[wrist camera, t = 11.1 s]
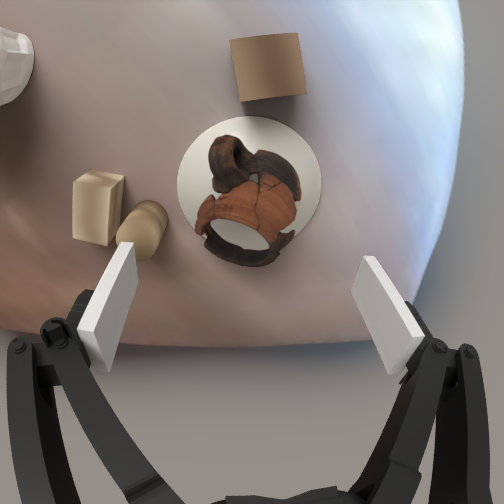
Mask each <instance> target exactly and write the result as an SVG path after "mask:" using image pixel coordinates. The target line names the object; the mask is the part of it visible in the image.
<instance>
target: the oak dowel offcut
mask: <svg viewBox="0 0 504 504" xmlns="http://www.w3.org/2000/svg"><path fill="white" fill-rule="evenodd" d="M167 224H168V215H167V212H166V210H165V209H164V208H163V206H162V205H160V204H159V203H157V202H155V201H151V200H145V201H141V202H139V203H138V204H137V205H136V206H135V207H134V208H133V210H132V211H131V212H130V214H129V215H128V217H127V218H126V219H125V221H124V222H123V224H122V225H121V226H120V228H119V229H118V231H117V234H116V243H117V246H119V244H120V243H121V242H132V243H134V250H135V259H136V260H137V261H142V260H146V259H149V258H150V257H152V256H153V255H154V253H155V251H156V249H157V247H158V245H159V242H160V240H161V238H162V235H163V233H164V231H165V229H166V226H167Z"/></svg>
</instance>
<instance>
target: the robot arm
mask: <svg viewBox="0 0 504 504" xmlns="http://www.w3.org/2000/svg"><path fill="white" fill-rule="evenodd" d="M138 283H139V282H138V275H137V267H136V259H135V250H134V243H132V242H121V243H120V244H119V246H118V248H117V250H116V251H115V253H114V255H113V257H112V259H111V261H110V262H109V264H108V266H107V268H106V270H105V272H104V274H103V276H102V278H101V280H100V281H99V283H98V285H97V287H96V289H95V290H86V289H85V290H84V291H83V292H82V293H81V294H80V295H79V296H78V297H77V299H76V301H75V303H74V305H73V307H72V309H71V311H70V313H69V315H68V317H67V319H66V320H65V319H62V318H57V317H55V318H51V319H49V320H47V321H45V323H44V324H43V325H42V326H41V329H40V335H41V337H42V339H43V341H44V343H35V344H32V342H31V340H30V339H29V338H28V337H25V336H20V337H17V338H15V339H13V340H12V341H11V342H10V344H9V346H8V350H7V411H8V425H9V435H10V443H11V451H12V458H13V464H14V469H15V475H16V480H17V484H18V489H19V493H20V497H21V501H22V504H81V502H80V499H79V496H78V493H77V490H76V487H75V484H74V481H73V477H72V474H71V470H70V467H69V463H68V460H67V456H66V452H65V447H64V443H63V439H62V434H61V429H60V424H59V420H58V414H57V408H56V402H55V394H54V387H53V386H57V385H58V386H59V385H62V387H63V389H64V391H65V393H66V395H67V398H68V400H69V402H70V404H71V406H72V408H73V410H74V412H75V414H76V416H77V418H78V420H79V422H80V424H81V426H82V428H83V430H84V432H85V433H86V435H87V437H88V439H89V441H90V442H91V444H92V446H93V447H94V449H95V451H96V453H97V454H98V456H99V457H100V459H101V461H102V462H103V464H104V465H105V467H106V469H107V470H108V472H109V473H110V475H111V476H112V478H113V479H114V480H115V482H116V483H117V485H118V486H119V488H120V489H121V490H122V492H123V493H124V495H125V498H126V500H127V501H128V503H129V504H185V503H184V502H183V501H182V500H181V499H180V498H179V496H178V495H177V494H176V493H175V492H174V491H173V490H172V489H171V487H170V486H169V485H168V484H167V483H166V482H165V481H164V479H163V478H162V477H161V476H160V475H159V474H158V473H157V472H156V470H155V469H154V468H153V467H152V465H151V464H150V463H149V461H148V460H147V459H146V458H145V456H144V455H143V454H142V452H141V451H140V450H139V448H138V447H137V445H136V444H135V443H134V441H133V440H132V438H131V437H130V436H129V434H128V433H127V431H126V430H125V428H124V427H123V425H122V424H121V422H120V421H119V419H118V418H117V416H116V415H115V413H114V411H113V410H112V408H111V406H110V405H109V403H108V402H107V400H106V398H105V397H104V395H103V393H102V392H101V390H100V388H99V386H98V385H97V383H96V381H95V379H94V377H93V375H92V374H91V372H90V370H89V368H90V365H92V367H93V369H94V371H98V372H104V373H110V369H111V366H112V362H113V359H114V356H115V352H116V349H117V346H118V342H119V339H120V336H121V333H122V330H123V327H124V323H125V320H126V317H127V314H128V311H129V308H130V306H131V303H132V300H133V297H134V294H135V291H136V288H137V286H138ZM351 294H352V296H353V298H354V300H355V302H356V304H357V306H358V308H359V311H360V313H361V315H362V317H363V319H364V321H365V323H366V326H367V328H368V330H369V332H370V334H371V336H372V339H373V341H374V343H375V345H376V348H377V350H378V352H379V354H380V356H381V359H382V361H383V363H384V366H385V368H386V370H387V373H388V374H396V373H400V372H401V371H402V370H403V368H404V366H405V365H406V367H407V369H408V372H407V373H406V374H405V376H404V377H403V378H402V380H401V381H400V382H399V384H401V383H402V385H401V388H400V391H399V393H398V396H397V398H396V401H395V404H394V406H393V408H392V411H391V413H390V415H389V418H388V421H387V422H386V425H385V427H384V429H383V431H382V434H381V436H380V438H379V440H378V442H377V444H376V446H375V448H374V451H373V452H372V454H371V456H370V458H369V461H368V462H367V464H366V466H365V468H364V470H363V472H362V474H361V475H360V477H359V479H358V480H357V482H356V483H355V484H354V485H353V486H352V487H351V488H350V490H349V491H348V492H345V491H339V490H337V486H332V487H327V488H321V489H315V490H310V491H307V492H305V493H302V494H300V495H297V496H294V497H291V498H288V499H283V500H282V499H274V498H267V497H261V496H255V495H253V496H226V498H225V500H221V501H217V502H214V503H212V504H411V501H412V500H413V498H414V495H415V493H416V490H417V488H418V486H419V483H420V480H421V477H422V476H421V473H420V472H418V469H419V466H420V463H421V460H422V457H423V455H424V452H425V449H426V446H427V443H428V440H429V436H430V433H431V430H432V426H433V423H434V419H435V415H436V432H435V449H434V461H433V471H432V480H431V487H430V494H429V502H428V504H493V502H492V497H491V493H490V488H489V482H490V450H489V449H490V448H489V430H488V429H489V428H488V416H487V407H486V398H485V390H484V384H483V377H482V372H481V366H480V361H479V357H478V353H477V351H476V349H475V348H474V347H473V346H471V345H469V344H462V345H461V346H460V348H459V349H458V350H454V349H449V348H448V347H447V345H446V344H445V343H444V342H443V341H441V340H440V339H437V338H433V337H432V335H431V333H430V331H429V330H428V328H427V326H426V325H425V323H424V322H423V321H422V318H421V317H420V315H419V314H418V312H417V311H416V309H415V308H414V306H412V305H411V304H410V303H409V302H408V301H403V299H402V297H401V296H400V294H399V293H398V291H397V290H396V288H395V287H394V285H393V283H392V282H391V280H390V279H389V277H388V276H387V274H386V273H385V271H384V270H383V268H382V267H381V266H380V264H379V263H378V261H377V260H376V258H375V257H374V256H363V258H362V261H361V264H360V267H359V270H358V272H357V275H356V278H355V281H354V284H353V286H352V289H351Z"/></svg>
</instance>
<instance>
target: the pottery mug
mask: <svg viewBox="0 0 504 504" xmlns="http://www.w3.org/2000/svg"><path fill="white" fill-rule="evenodd" d="M208 162H209V166H210V170H211V172H212V174H213V178H212V188H213V190H214V191H215V192H217V193H222V194H221V196H219V198H218V199H215V197H214V195H212V194H210V195H209V196H208V197H207V198H206V199H205V200H204V202H203V203H202V204H201V205H200V208H199V210H198V212H197V220H196V223H195V232H196V234H198V235H203V234H204V233H205V235H206V236H207V239H206V241H205V243H204V247H205V248H206V249H208V250H209V251H210V252H211V253H213V254H214V255H216V256H217V257H219V258H221V259H223V260H226V261H228V262H231V263H235V264H238V265H241V266H249V267H260V266H265V265H268V264H269V263H271V262H273V261H274V260H275V259H276V258H277V257H278V256H279V255H280V253H279V251H280V250H281V249H282V248H284V247H285V246H286V245H287V244H288V243H289V242H290V241H291V240H292V239H293V237H294V234H295V230H291V231H290V232H289V233H282V232H280V231H281V230H283V229H285V228H286V227H287V226H289V225H290V224H291V223H292V222H293V221H294V220H295V216H296V213H297V208H296V206H295V202H296V201H300V200H301V194H302V192H301V187H300V180H299V176H298V174H297V172H296V170H295V169H294V167H293V166H292V165H291V164H290V163H289V162H288V161H287V160H286V159H284V158H283V157H281V156H280V155H278V154H276V153H274V152H270V151H266V150H260V149H259V150H257V152H256V153H255V154H254V155H253V153H252V152H250V151H249V150H248V149H247V148H246V147H245V146H244V144H243V142H242V141H241V140H240V139H239V138H238V137H235V136H232V135H223V136H220V137H216V138H215V140H214V142H213V143H212V145H211V147H210V149H209V153H208ZM255 173H256V174H257V175H258V183H256V182H255V181H253V180H250V179H249V178H250V175H252V174H255ZM216 219H225V220H231V221H235V222H239V223H241V224H244V225H247V226H248V227H250V228H252V229H254V230H256V231H257V232H258V233H259V234H260V235H261V236H262V237H263V238H264V239H265V240H266V241H267V243H268V244H269V248H268V249H265V250H253V249H243V248H242V247H240V246H238V245H235V244H232V243H230V242H228V241H226V240H224V239H223V238H222V237H221V236H220V235H219V234H218V233H217V232H216V231H215V230H214V229H213V228H212V227H211V221H213V220H216Z"/></svg>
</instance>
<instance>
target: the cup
mask: <svg viewBox="0 0 504 504" xmlns="http://www.w3.org/2000/svg"><path fill="white" fill-rule="evenodd" d="M33 63H34V50H33V46H32V43H31V41H30V40H29V38H28V37H27V36H26V35H24V34H20V33H15V32H13V31H10V30H7V29H4V28H2V27H0V106H2V105H3V104H6V103H9V102H11V101H13V100H14V99H15V98H16V97H18V96H19V95H20V94H21V92H22V91H23V90H24V88H25V87H26V85H27V84H28V81H29V78H30V76H31V72H32V69H33Z"/></svg>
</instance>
